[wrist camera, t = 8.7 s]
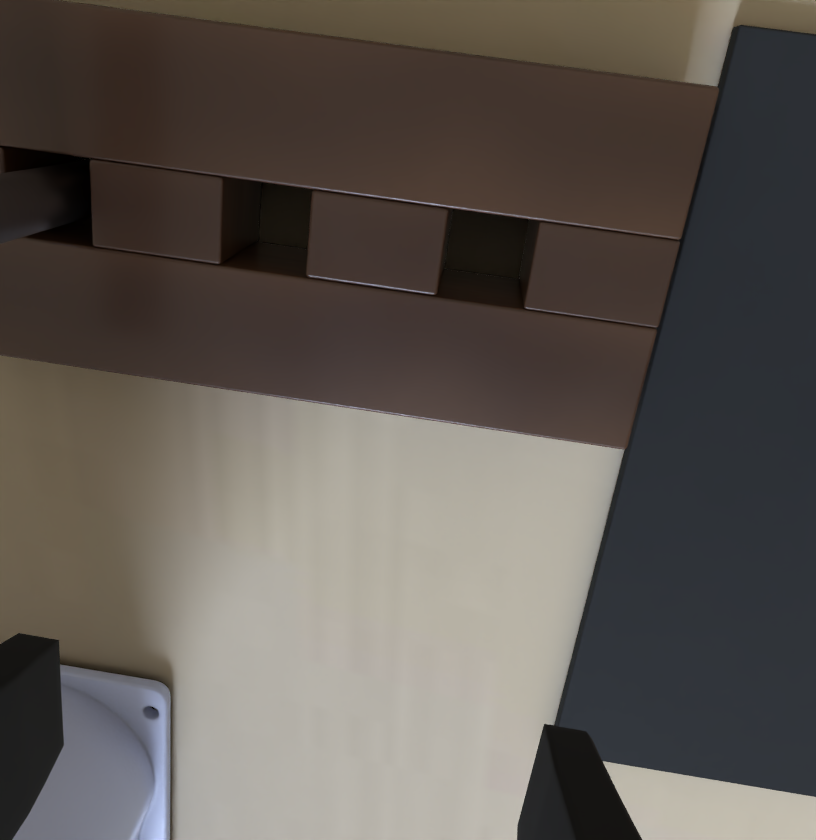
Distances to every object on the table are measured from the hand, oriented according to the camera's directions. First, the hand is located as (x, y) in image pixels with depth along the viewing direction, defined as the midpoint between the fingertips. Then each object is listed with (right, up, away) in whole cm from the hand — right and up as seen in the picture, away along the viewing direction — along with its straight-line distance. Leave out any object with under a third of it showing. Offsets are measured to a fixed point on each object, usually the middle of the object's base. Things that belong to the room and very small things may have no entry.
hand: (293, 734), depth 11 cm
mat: (+13, +3, +9) cm, 16 cm away
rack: (-1, +10, +7) cm, 12 cm away
